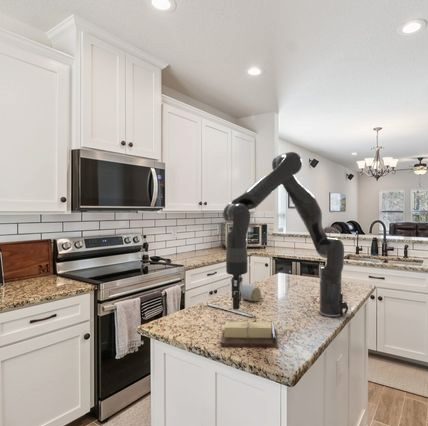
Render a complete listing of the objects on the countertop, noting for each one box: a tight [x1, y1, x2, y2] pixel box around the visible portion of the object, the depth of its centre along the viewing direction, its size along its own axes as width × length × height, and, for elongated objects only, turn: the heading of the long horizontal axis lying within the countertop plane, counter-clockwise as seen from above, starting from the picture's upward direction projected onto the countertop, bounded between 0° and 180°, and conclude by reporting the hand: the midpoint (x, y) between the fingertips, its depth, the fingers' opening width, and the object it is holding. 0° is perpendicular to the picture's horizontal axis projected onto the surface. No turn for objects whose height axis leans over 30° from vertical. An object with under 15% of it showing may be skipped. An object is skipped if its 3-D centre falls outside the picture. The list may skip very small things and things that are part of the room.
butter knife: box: [206, 303, 253, 318], centre depth 136 cm, size 1×27×3 cm
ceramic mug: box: [241, 283, 263, 303], centre depth 153 cm, size 11×8×8 cm
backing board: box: [220, 321, 276, 348], centre depth 107 cm, size 18×14×3 cm
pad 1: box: [224, 321, 249, 338], centre depth 107 cm, size 8×5×4 cm, turn 89°
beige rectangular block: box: [248, 321, 272, 338], centre depth 107 cm, size 8×5×4 cm, turn 89°
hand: (237, 305), depth 107 cm, fingers open, 8 cm apart
